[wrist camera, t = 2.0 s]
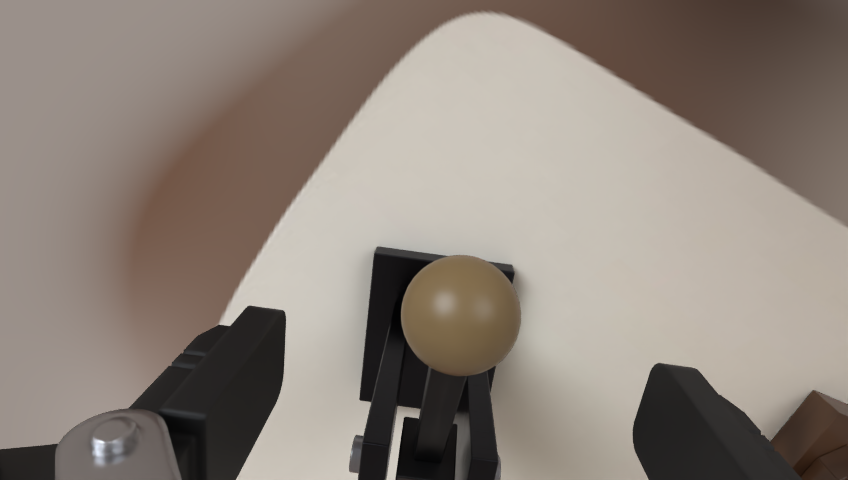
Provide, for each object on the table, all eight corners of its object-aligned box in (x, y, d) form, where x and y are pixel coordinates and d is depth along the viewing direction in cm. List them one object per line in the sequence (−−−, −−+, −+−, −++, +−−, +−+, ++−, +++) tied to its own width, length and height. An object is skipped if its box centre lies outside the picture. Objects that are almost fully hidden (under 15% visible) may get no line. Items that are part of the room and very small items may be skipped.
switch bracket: (376, 245, 29) (325, 370, 17) (512, 264, 29) (557, 403, 17) (362, 389, 32) (309, 579, 20) (484, 406, 32) (504, 606, 20)
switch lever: (412, 223, 13) (396, 318, 11) (530, 239, 13) (538, 337, 11) (390, 434, 23) (378, 511, 20) (460, 444, 22) (457, 522, 20)
